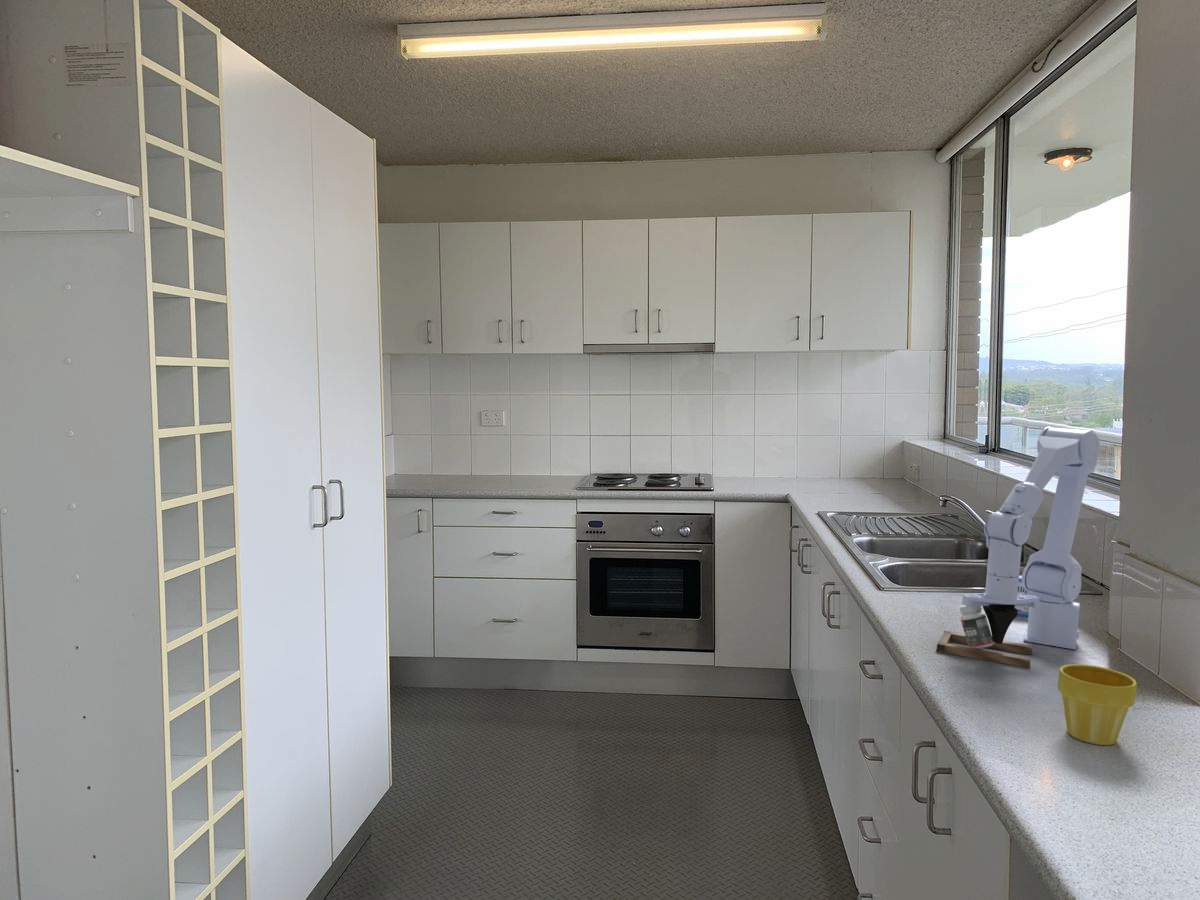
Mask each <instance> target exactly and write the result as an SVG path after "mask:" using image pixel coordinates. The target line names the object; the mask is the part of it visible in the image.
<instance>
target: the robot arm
mask: <svg viewBox="0 0 1200 900" xmlns="http://www.w3.org/2000/svg"><path fill="white" fill-rule="evenodd" d="M1036 441H1037V442H1036V443H1037V444H1036V450H1037V456H1036V458H1035V459H1034V461H1033V464H1032V466H1031V468H1030V470H1029V472H1028V474H1027V476H1026V478H1025V480H1024V482H1019V483H1016V484H1015V485H1014V487H1013V488H1012V490H1011V491H1010V492H1009V494H1008V496H1007V497H1006V499H1005V501H1004V502H1003V504H1002V505H1001V507H1000V508H999V510H997V511H995V512H992V513H991V514H989V515H988V517H986V520H985V525H984V526H983V533H984V536H985V539H986V541H985V543H986V544H985V546H986V549H988V557H987V568H986V570H987V571H986V579H985V591H984V592H980V593H979V592H978V593H972V594H971V593H970V594H969V593H968V594H966V593H965V594H962V599H961V601H962V602H961V605H962V606H964V605H965V606H967V607H971V606H981V607H982V610H983V612H984V613H985V615H986V618H987V622H988V625H989V629H990V632H991V635H992V639H993V641H994V642H995V643H997V644H1002V642H1003V641H1004V639H1005V636H1006V634H1007V632H1008V630H1009V628H1010V626H1011V624H1012V622H1013V621H1014V620H1015V618H1016V617H1017V616H1018V610H1017V609H1015V606H1020V607H1029V616H1027V628H1026V629H1025V633H1024V637H1023V641H1024V642H1027V643H1034V644H1039V645H1046V646H1053V647H1058V648H1064V649H1070V650H1076V649H1077V640H1079V636H1080V630H1079V620H1080V619H1079V617H1080V608H1081V607H1080V606H1081V603H1080V602H1076V601H1074V600H1075V599H1077V598H1078V596H1079V595H1080V592H1081V590H1082V589H1081V588H1082V571H1083V570H1082V569H1083V567H1082V566H1081V564H1080V563H1079V562H1078V561H1077V560H1076V558H1074V557H1073V555H1072V554H1071V552H1072V549H1073V548H1072V547H1073V542H1074V538H1075V534H1076V530H1077V525H1078V520H1079V517H1080V511H1081V508H1082V503H1083V502H1082V501H1083V497H1084V493H1085V489H1086V485H1087V479H1088V476H1089V475H1090V474H1093V473H1094V472H1095V471H1096V466H1097V462H1098V459H1099V453H1100V449H1101V445H1100V441H1099V437H1098V434H1097V433H1096V432H1095V431H1094V430H1092V429H1087V430H1085V429H1083V430H1082V429H1073V428H1059V427H1053V426H1046V427H1044V428H1043V429H1042V430H1041V432H1040V434H1039V435H1038V438H1037V440H1036ZM1056 473H1057V474H1058V481H1057V484H1056V488H1055V493H1054V499H1053V502H1052V506H1051V511H1050V514H1049V515H1050V516H1049V521H1048V525H1047V529H1046V534H1045V537H1044V538H1045V539H1044V543H1043V548H1042V549H1040V550H1038V551H1036V552H1034V553H1032V554H1030V555H1029V556H1028V557H1029V558H1028V561H1027V564H1026V565H1025V567H1024V569H1023V571H1022V574H1021V576H1022V584H1023V587H1024V589H1025V590H1026V591H1027V595H1019V594H1018V584H1019V575H1020V568H1021V560H1022V548H1023V547H1022V546H1023V545H1024V544H1025V543H1026V542H1027V540H1029V537H1030V533H1031V528H1032V525H1033V520H1032V519H1033V518H1034V516H1035V514H1036V513H1037V511H1038V510H1039V507H1040V506H1041V505H1042V503H1043V501H1044V498H1045V497H1044V493H1043V492H1042V491H1043V490H1044V488H1045V487H1046V486H1047V485H1048V484H1049V483H1050V481H1051V480H1052V478H1053V477H1054V476H1055V475H1056ZM1050 565H1054V566H1050ZM1056 566H1057V567H1056ZM1059 567H1062V568H1059Z"/></svg>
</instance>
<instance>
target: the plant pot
mask: <svg viewBox="0 0 1200 900" xmlns="http://www.w3.org/2000/svg"><path fill="white" fill-rule="evenodd" d="M1057 679H1058V681H1057V689H1058V692H1059V693H1061V695H1062V703H1063V709H1064V710H1063V711H1064V717H1065V726H1066V730H1067V733H1068V735H1070V736H1071V737H1073V738H1074V739H1076V740H1079V741H1081V742H1085V743H1088V744H1091V745H1096V746H1097V745H1098V746H1111V745H1115V744H1116V742H1117V741H1118V739H1119V735H1120V732H1121V730H1122V727H1123V724H1124V721H1125V719H1126V716H1127V714H1128V711H1129V708H1131V707H1133V706H1135V702H1136V697H1137V689H1138V684H1137V681H1136V680H1135V679H1134V678H1133V677H1131V676H1130V675H1128V674H1126V673H1123V672H1121V671H1117V670H1114V669H1110V668H1106V667H1102V666H1097V665H1091V664H1083V663H1082V664H1080V663H1079V664H1077V663H1076V664H1075V663H1073V664H1072V663H1071V664H1069V663H1068V664H1064V665H1062V666H1060V667H1059V669H1058V677H1057Z"/></svg>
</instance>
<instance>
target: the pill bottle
mask: <svg viewBox="0 0 1200 900" xmlns="http://www.w3.org/2000/svg"><path fill="white" fill-rule="evenodd" d="M982 610H983V606H971V607H967V606H965V605H961V606H959V611H960V614H962V615H961V616H960V622H961V625H962V626H961V627H962V630H963V634H965V636H966V640H967V643H968V644H967V647H970V648H976V649H984V648H988V646H992V645H993V644H994V642H993V639H992V633H991V628H990V624H989V621H988V618H987V616H986V613H985V611H982Z"/></svg>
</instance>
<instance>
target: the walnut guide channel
mask: <svg viewBox="0 0 1200 900" xmlns="http://www.w3.org/2000/svg"><path fill="white" fill-rule="evenodd" d="M953 641H955V642H954V643H959V642H960V644H966V645H968V643H967V640H966V636H965V633H961V632H954V631H950V630H949V631H948V630H944V631H943V632H942V635H941V636H940V638H939V639H938V642H937V644H936V652H937V651H941V652H940V653H943V652H947V653H946V654H948V653H951V654H950V655H954V654H956V655H955V656H959V655H960V657H965V656H966V658H970V657H971V658H972V659H976V660H983V661H989V662H994V663H1000V664H1004V665H1005V664H1006V665H1010V666H1016V667H1022V668H1027V669H1030V668H1031V660H1032V659H1031V657H1026V656H1021V655H1016V654H1023V655H1028V656H1033V651H1034V645H1033V644H1025V643H1019V642H1014V641H1007V640H1003V642H1002V644H997V643H995V642H994V641H993V642H994V644H993V645H992V646H988V647H987V648H988V649H995V650H999V651H1000V650H1001V651H1006V652H1013V653H1016V654H1014V655H1013V654H1009V653H1003V652H997V651H992V650H987V649H986V650H985V649H982V648H979V649H976V648H970V647H968V646H965V645H964V646H963V645H959V644H958V645H957V644H951V642H953ZM971 658H970V659H971Z"/></svg>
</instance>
